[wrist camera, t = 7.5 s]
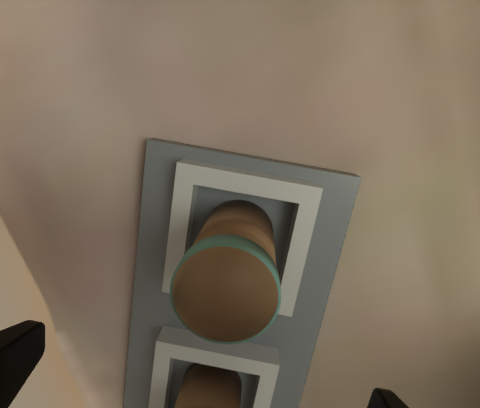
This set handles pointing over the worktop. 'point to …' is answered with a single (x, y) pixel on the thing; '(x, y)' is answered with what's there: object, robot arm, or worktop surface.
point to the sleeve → (229, 276)
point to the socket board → (287, 262)
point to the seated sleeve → (209, 388)
